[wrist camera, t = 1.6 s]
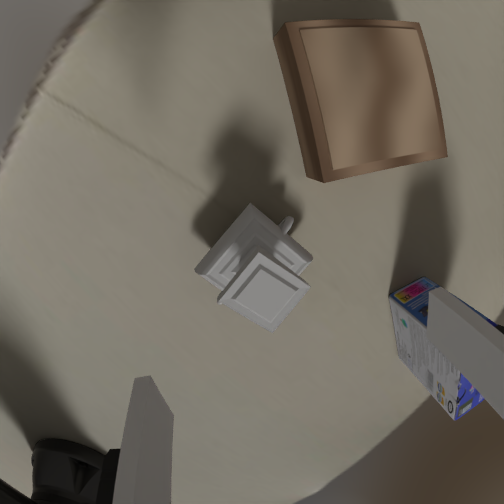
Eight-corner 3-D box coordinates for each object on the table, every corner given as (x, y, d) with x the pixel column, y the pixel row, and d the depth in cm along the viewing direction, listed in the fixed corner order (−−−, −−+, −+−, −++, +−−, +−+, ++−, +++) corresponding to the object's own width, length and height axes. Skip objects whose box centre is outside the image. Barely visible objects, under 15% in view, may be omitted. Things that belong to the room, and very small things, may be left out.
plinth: (306, 176, 26) (325, 183, 22) (273, 38, 21) (285, 21, 18) (420, 153, 26) (449, 157, 22) (395, 33, 22) (420, 22, 18)
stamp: (245, 310, 29) (261, 369, 21) (185, 269, 27) (180, 321, 19) (312, 234, 28) (354, 272, 20) (254, 185, 25) (278, 205, 18)
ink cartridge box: (433, 337, 34) (503, 408, 21) (397, 358, 34) (462, 440, 21) (427, 271, 31) (521, 340, 17) (386, 294, 31) (475, 379, 17)
